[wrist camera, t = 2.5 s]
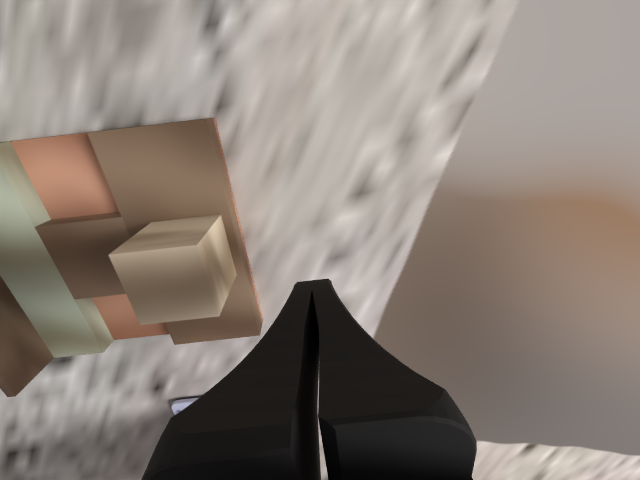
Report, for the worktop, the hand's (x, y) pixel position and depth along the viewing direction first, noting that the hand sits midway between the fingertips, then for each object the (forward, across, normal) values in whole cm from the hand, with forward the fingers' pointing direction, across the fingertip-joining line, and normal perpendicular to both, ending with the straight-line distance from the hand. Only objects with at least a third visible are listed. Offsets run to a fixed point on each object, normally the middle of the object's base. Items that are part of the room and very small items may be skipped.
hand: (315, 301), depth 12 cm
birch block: (+6, +7, 0) cm, 9 cm away
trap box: (+8, +12, 0) cm, 14 cm away
